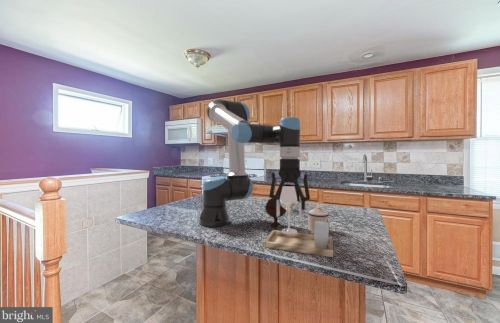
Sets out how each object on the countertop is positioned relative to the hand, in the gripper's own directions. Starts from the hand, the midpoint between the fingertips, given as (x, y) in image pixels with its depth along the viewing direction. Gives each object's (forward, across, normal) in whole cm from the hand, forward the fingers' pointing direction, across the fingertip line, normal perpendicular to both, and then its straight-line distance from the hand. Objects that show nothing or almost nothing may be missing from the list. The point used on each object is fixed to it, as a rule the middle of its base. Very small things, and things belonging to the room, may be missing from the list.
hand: (289, 217), depth 86 cm
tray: (+11, +4, 0) cm, 12 cm away
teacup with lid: (+12, +10, +22) cm, 26 cm away
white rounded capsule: (+10, +12, 0) cm, 16 cm away
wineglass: (+6, 0, 0) cm, 6 cm away
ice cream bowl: (+11, -10, +23) cm, 27 cm away
